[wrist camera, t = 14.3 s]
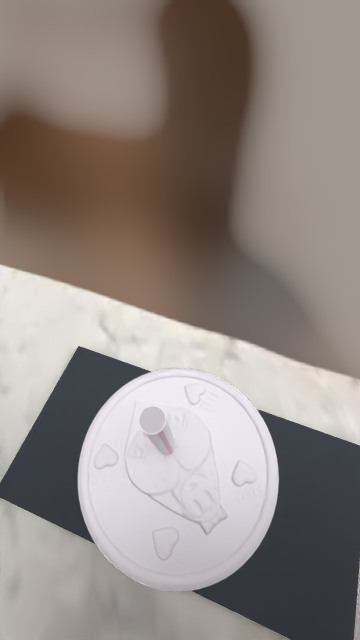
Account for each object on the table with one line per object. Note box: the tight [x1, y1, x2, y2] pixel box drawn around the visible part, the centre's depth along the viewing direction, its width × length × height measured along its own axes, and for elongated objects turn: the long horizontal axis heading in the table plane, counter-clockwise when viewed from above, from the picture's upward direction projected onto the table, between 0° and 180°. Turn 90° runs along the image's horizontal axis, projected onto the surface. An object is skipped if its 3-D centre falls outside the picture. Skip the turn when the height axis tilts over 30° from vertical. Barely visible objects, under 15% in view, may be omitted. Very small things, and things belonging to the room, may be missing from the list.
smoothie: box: [78, 368, 279, 592], centre depth 12 cm, size 6×6×14 cm
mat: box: [0, 346, 360, 640], centre depth 18 cm, size 20×10×1 cm, turn 70°
